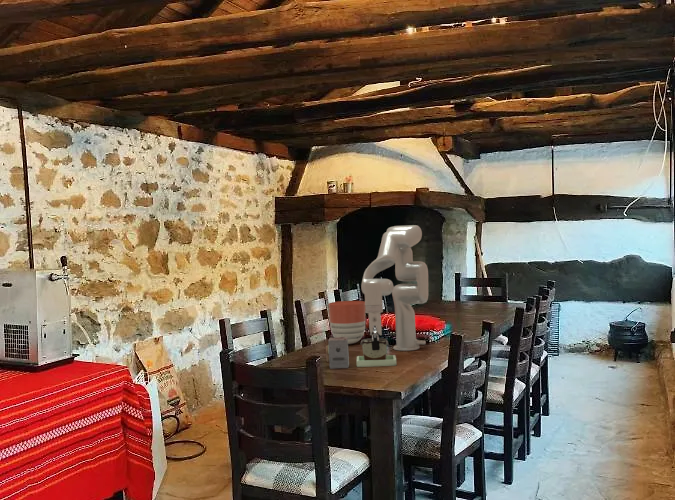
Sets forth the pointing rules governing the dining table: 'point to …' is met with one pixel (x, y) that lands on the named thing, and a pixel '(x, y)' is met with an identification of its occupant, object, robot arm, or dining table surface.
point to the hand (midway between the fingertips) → (375, 348)
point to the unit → (338, 352)
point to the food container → (374, 354)
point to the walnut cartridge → (327, 354)
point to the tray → (376, 361)
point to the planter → (347, 319)
